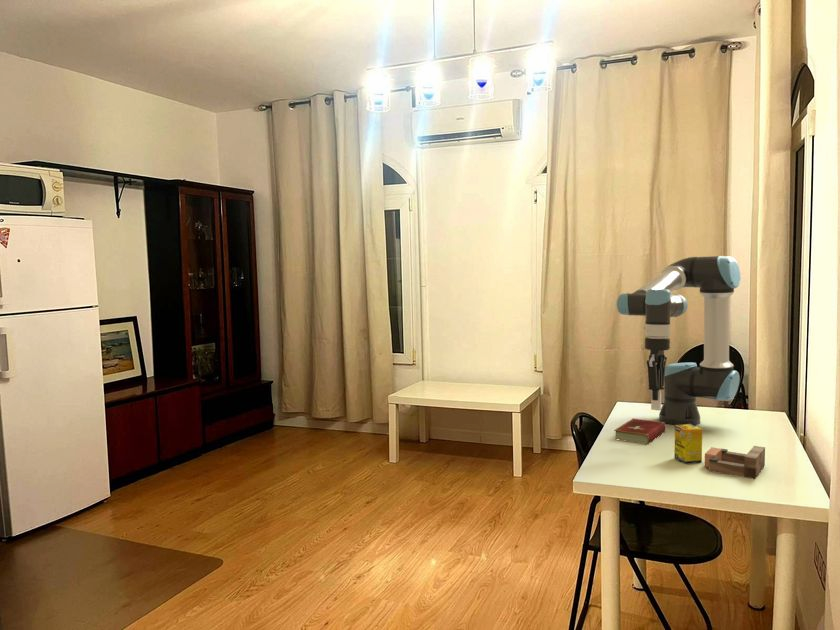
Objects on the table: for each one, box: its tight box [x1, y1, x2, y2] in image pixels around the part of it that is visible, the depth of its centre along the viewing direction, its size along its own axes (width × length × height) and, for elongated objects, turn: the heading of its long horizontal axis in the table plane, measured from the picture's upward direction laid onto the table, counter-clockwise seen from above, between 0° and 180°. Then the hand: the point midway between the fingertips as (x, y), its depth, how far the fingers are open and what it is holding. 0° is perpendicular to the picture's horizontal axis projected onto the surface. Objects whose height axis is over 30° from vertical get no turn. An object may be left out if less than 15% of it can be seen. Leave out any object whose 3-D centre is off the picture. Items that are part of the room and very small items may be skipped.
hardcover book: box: [613, 418, 667, 445], centre depth 232 cm, size 12×21×4 cm, turn 144°
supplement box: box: [673, 424, 703, 465], centre depth 201 cm, size 6×6×11 cm
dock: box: [708, 445, 766, 480], centre depth 193 cm, size 14×12×6 cm
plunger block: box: [704, 446, 723, 468], centre depth 197 cm, size 8×3×4 cm, turn 142°
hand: (656, 409), depth 207 cm, fingers closed
